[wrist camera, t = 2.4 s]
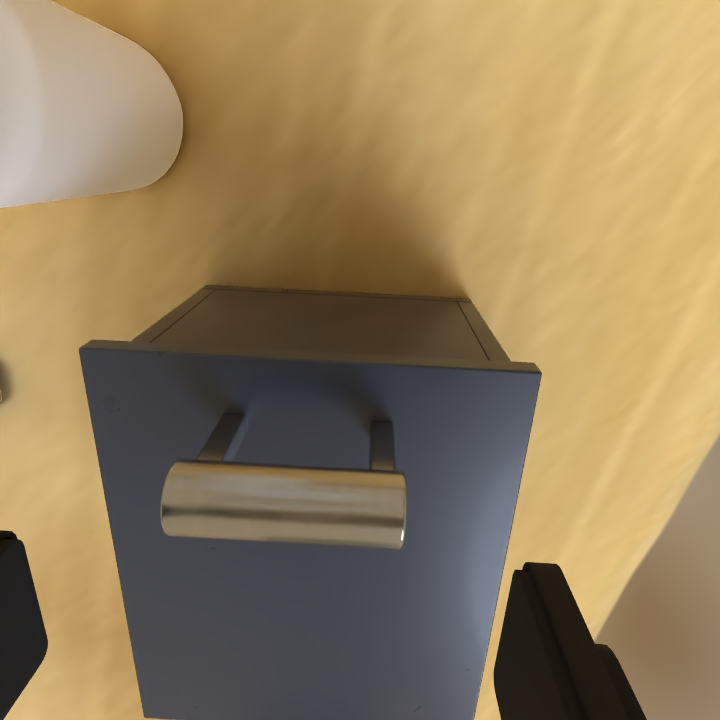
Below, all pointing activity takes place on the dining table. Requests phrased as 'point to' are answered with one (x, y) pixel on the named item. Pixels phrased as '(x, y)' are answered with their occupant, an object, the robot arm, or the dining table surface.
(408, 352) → the bin
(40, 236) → the dining table surface
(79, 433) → the dining table surface
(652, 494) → the dining table surface
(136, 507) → the bin lid
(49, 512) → the dining table surface
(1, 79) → the can
